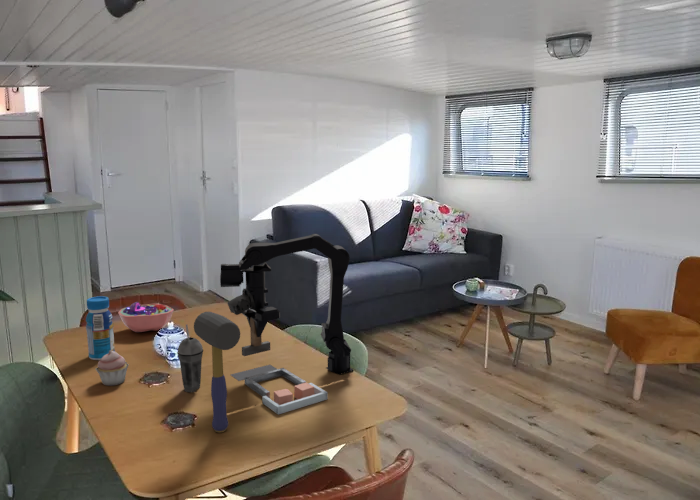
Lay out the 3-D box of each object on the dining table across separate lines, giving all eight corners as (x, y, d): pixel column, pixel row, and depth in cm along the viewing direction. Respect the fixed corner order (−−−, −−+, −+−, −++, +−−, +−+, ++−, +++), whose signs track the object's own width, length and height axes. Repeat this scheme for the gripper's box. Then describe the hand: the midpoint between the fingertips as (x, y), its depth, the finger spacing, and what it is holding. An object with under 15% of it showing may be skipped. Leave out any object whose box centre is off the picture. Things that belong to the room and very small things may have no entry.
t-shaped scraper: (267, 348, 184) (266, 314, 182) (271, 350, 182) (270, 316, 180) (241, 354, 178) (240, 319, 176) (245, 356, 176) (244, 321, 174)
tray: (311, 388, 173) (311, 382, 172) (327, 399, 166) (327, 392, 166) (262, 403, 163) (262, 396, 163) (278, 414, 157) (277, 407, 156)
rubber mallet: (195, 425, 150) (190, 312, 145) (222, 417, 155) (218, 307, 149) (218, 445, 141) (213, 324, 135) (246, 435, 146) (242, 318, 140)
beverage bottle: (82, 358, 195) (77, 300, 192) (101, 350, 203) (97, 294, 199) (102, 362, 192) (97, 303, 189) (121, 353, 200) (117, 296, 196)
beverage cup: (209, 385, 174) (207, 321, 171) (195, 395, 168) (192, 328, 164) (188, 382, 177) (185, 318, 173) (174, 392, 170) (170, 325, 166)
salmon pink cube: (305, 393, 170) (305, 382, 169) (314, 398, 167) (314, 386, 166) (294, 397, 167) (294, 385, 167) (302, 402, 164) (302, 390, 164)
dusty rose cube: (287, 400, 166) (287, 388, 165) (292, 406, 162) (292, 394, 161) (274, 403, 164) (273, 391, 163) (279, 409, 160) (279, 396, 160)
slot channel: (283, 375, 183) (283, 367, 182) (306, 389, 172) (306, 381, 172) (244, 385, 175) (244, 377, 174) (266, 401, 164) (265, 392, 164)
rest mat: (270, 366, 190) (270, 364, 190) (279, 372, 185) (279, 370, 185) (230, 376, 182) (230, 374, 181) (238, 382, 177) (238, 380, 177)
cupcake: (96, 378, 180) (94, 347, 178) (129, 374, 183) (127, 343, 181) (96, 390, 171) (93, 357, 169) (130, 385, 175) (128, 353, 173)
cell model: (166, 338, 216) (164, 308, 214) (111, 337, 216) (109, 308, 214) (179, 324, 233) (178, 296, 230) (129, 323, 233) (127, 295, 231)
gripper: (216, 283, 179) (218, 332, 182) (246, 296, 164) (247, 349, 167) (249, 278, 185) (250, 326, 188) (280, 290, 171) (281, 341, 174)
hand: (256, 335), depth 179 cm, fingers closed on t-shaped scraper, 2 cm apart
